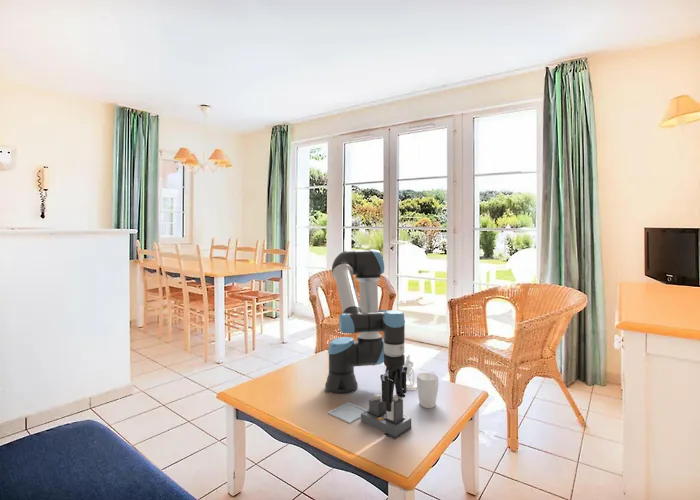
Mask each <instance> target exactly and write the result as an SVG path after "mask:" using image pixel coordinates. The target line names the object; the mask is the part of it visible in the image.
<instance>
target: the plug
mask: <svg viewBox="0 0 700 500" xmlns="http://www.w3.org/2000/svg"><path fill="white" fill-rule="evenodd" d="M392 402H394V420H393V421H392V420H389V419H387V411H386V421H388V422H390V423H392V424H395V425H397V424H399V423H400V422H402V421H403V415H404V400H403V399H402V400H401V399H398V396H397V394H393V399H392Z"/></svg>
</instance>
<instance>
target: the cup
mask: <svg viewBox="0 0 700 500" xmlns="http://www.w3.org/2000/svg"><path fill="white" fill-rule="evenodd" d="M416 383H417V395H418V396H417V397H418V401H419V402H418V404H419V405H420V407H422V408H426V409H431V408H435V407H436V405H437V404H436V403H437V396H438V392H439V376H438V375H436V374H435V373H433V372H419V373H418V374H416Z"/></svg>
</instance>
